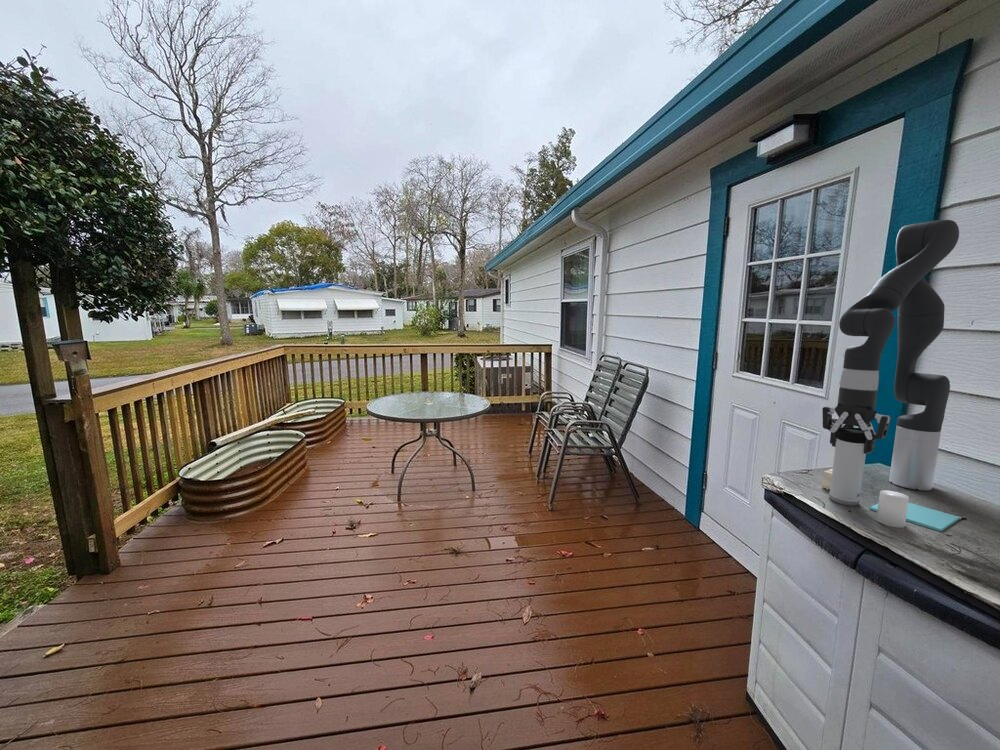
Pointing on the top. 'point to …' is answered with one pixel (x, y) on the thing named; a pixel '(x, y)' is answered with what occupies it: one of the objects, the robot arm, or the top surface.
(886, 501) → the white plastic capsule
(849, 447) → the travel mug
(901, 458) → the robot arm
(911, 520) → the teal mat
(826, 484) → the birch block
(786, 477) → the top surface
